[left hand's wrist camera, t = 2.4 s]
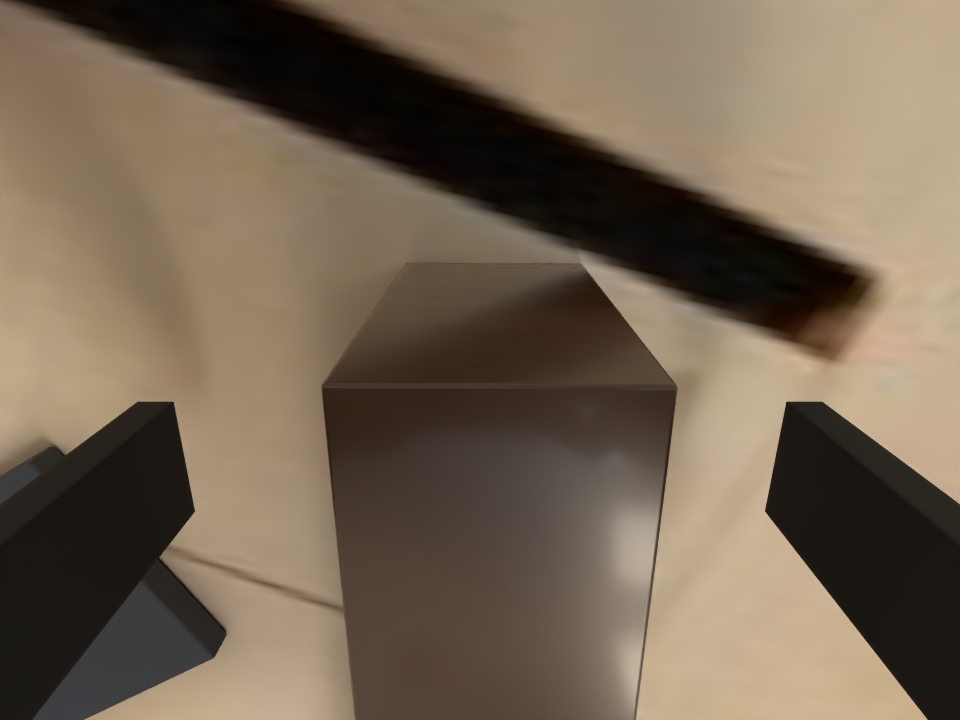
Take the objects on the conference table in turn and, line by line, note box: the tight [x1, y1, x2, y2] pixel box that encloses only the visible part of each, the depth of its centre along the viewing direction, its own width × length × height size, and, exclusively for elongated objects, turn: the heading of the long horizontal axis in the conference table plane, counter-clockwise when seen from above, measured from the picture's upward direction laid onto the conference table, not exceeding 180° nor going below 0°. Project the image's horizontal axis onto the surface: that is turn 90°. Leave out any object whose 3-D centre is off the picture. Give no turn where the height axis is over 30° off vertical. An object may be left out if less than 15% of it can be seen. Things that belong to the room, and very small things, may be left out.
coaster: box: [0, 447, 226, 720], centre depth 18 cm, size 8×8×1 cm
